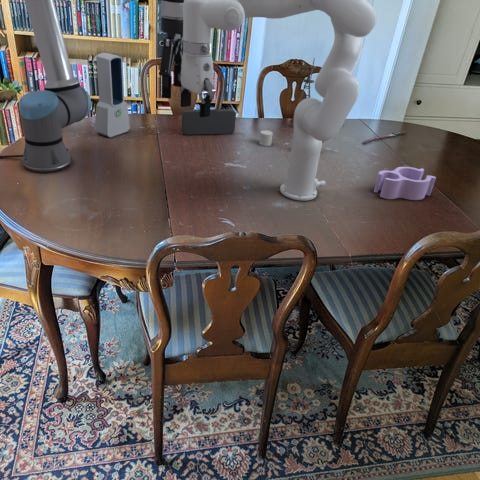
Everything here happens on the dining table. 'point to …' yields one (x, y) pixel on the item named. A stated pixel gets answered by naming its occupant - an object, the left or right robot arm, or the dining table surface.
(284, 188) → the right robot arm
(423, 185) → the clip
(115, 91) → the electronic device
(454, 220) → the dining table surface
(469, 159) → the dining table surface
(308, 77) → the miniature windmill
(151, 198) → the dining table surface
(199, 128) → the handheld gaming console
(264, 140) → the grey solid cylinder
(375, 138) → the sword
